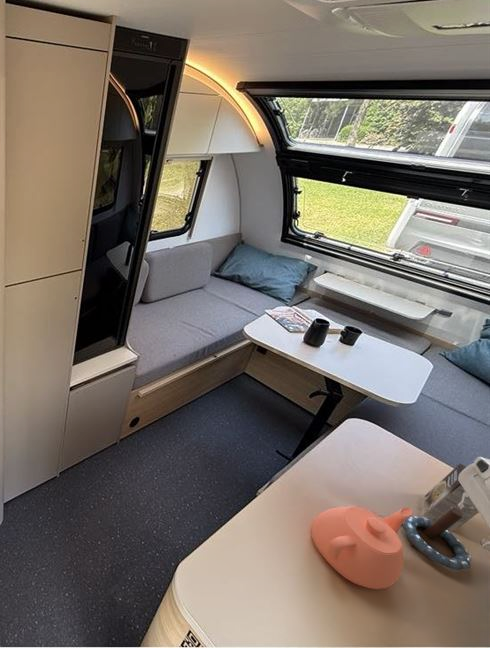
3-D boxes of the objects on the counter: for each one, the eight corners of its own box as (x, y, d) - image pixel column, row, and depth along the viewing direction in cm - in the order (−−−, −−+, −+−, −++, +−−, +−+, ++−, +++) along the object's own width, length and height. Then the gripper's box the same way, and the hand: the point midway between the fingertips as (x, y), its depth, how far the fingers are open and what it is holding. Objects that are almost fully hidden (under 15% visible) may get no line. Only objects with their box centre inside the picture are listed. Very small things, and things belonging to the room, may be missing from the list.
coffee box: (421, 496, 105) (459, 462, 97) (451, 513, 101) (493, 479, 93) (419, 516, 99) (459, 482, 91) (451, 535, 95) (495, 500, 87)
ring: (451, 533, 94) (457, 528, 93) (477, 582, 85) (485, 577, 83) (394, 511, 98) (399, 506, 97) (413, 555, 89) (419, 550, 87)
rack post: (438, 530, 96) (471, 504, 90) (455, 564, 89) (492, 538, 83) (397, 514, 99) (426, 488, 93) (411, 546, 92) (443, 519, 86)
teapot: (348, 507, 100) (376, 478, 93) (418, 573, 86) (456, 545, 80) (283, 531, 92) (308, 502, 85) (349, 608, 79) (384, 580, 72)
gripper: (578, 547, 67) (521, 580, 74) (509, 462, 83) (467, 496, 90) (533, 530, 69) (481, 565, 76) (474, 451, 85) (436, 485, 92)
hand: (473, 527), depth 83 cm, fingers open, 8 cm apart
